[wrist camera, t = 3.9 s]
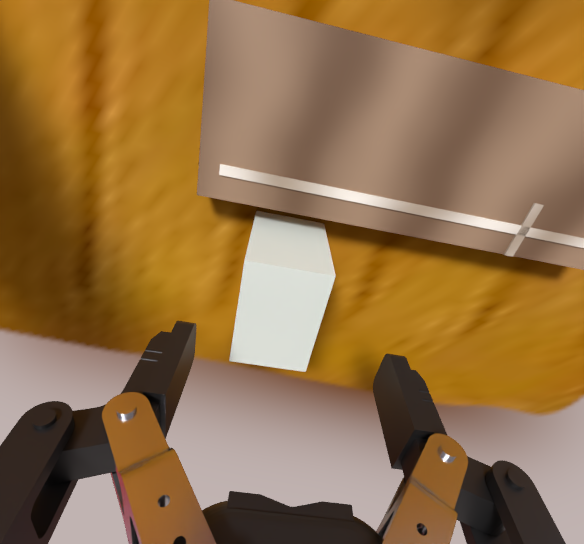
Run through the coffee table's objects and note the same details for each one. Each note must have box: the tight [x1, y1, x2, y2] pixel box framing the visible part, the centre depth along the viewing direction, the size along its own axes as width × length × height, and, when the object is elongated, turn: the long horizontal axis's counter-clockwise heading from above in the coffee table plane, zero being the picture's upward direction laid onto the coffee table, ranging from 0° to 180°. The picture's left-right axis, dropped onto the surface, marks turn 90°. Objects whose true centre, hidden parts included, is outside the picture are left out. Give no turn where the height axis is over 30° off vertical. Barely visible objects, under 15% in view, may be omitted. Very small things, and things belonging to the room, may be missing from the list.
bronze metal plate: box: [197, 0, 584, 270], centre depth 17 cm, size 22×8×2 cm, turn 78°
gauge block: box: [229, 211, 336, 372], centre depth 19 cm, size 4×6×6 cm, turn 168°
